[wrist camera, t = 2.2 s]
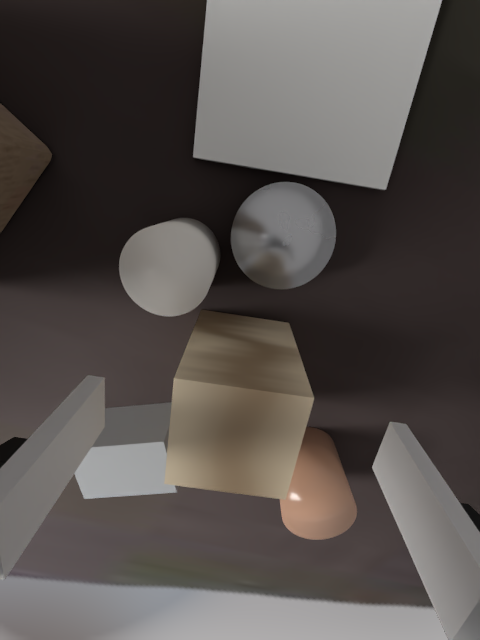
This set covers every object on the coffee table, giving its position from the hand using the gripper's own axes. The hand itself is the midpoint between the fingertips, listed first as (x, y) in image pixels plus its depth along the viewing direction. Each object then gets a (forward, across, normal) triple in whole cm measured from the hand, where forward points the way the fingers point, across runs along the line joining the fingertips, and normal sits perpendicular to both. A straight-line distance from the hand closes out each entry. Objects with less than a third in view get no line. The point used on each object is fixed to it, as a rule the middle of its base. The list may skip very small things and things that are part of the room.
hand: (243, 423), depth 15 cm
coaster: (+6, 0, +16) cm, 17 cm away
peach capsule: (+7, +6, -7) cm, 11 cm away
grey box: (+7, -6, -7) cm, 11 cm away
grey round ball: (+7, 0, +8) cm, 10 cm away
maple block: (+7, 0, 0) cm, 7 cm away
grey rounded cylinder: (+6, -4, +6) cm, 10 cm away
